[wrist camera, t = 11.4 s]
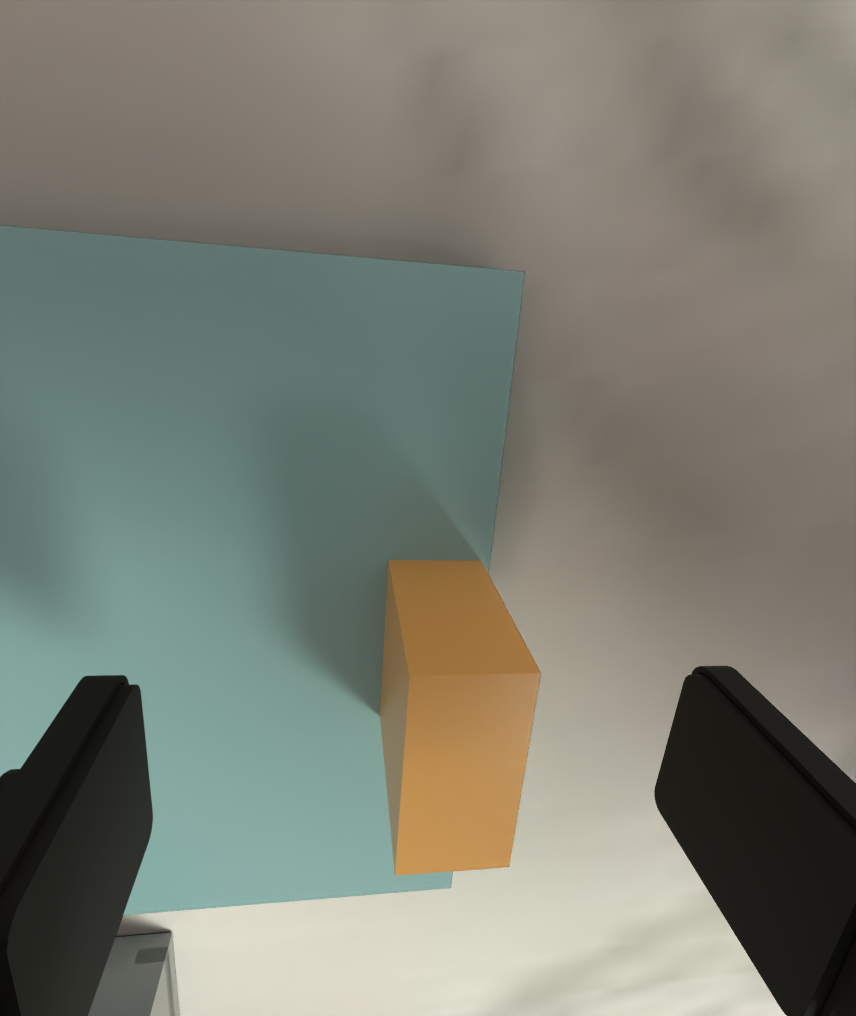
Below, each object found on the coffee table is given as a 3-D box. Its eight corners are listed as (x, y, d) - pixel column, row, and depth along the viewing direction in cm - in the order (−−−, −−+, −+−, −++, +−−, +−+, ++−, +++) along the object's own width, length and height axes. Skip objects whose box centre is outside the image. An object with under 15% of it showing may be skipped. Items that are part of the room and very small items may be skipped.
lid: (501, 274, 12) (624, 258, 7) (441, 836, 17) (485, 1070, 12) (-133, 218, 10) (-622, 141, 5) (13, 866, 15) (-153, 1156, 10)
